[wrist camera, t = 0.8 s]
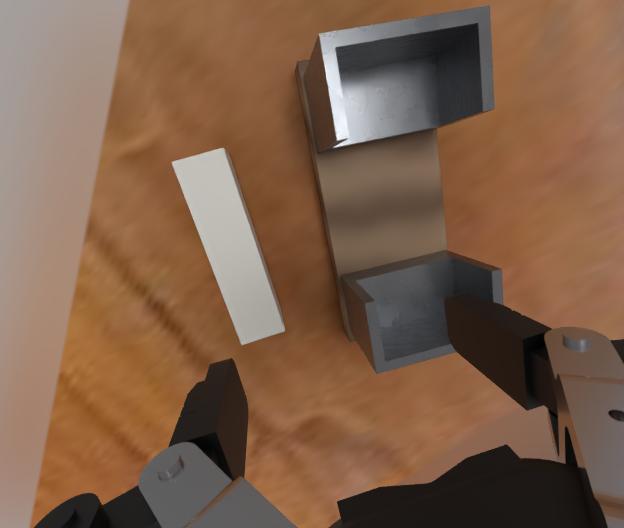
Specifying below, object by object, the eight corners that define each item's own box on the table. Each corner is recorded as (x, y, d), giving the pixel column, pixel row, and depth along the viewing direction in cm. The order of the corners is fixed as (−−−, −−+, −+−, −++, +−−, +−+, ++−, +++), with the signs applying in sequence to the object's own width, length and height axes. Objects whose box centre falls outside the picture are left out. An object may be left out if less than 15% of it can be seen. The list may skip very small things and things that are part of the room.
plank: (295, 70, 27) (297, 61, 25) (416, 49, 28) (428, 39, 26) (345, 333, 33) (350, 342, 31) (442, 307, 34) (453, 315, 32)
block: (184, 165, 28) (171, 162, 24) (228, 153, 28) (223, 147, 24) (244, 326, 32) (241, 345, 28) (282, 313, 32) (285, 331, 28)
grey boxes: (303, 77, 25) (319, 33, 18) (427, 55, 26) (489, 5, 19) (350, 330, 31) (376, 373, 24) (450, 304, 32) (504, 338, 25)
